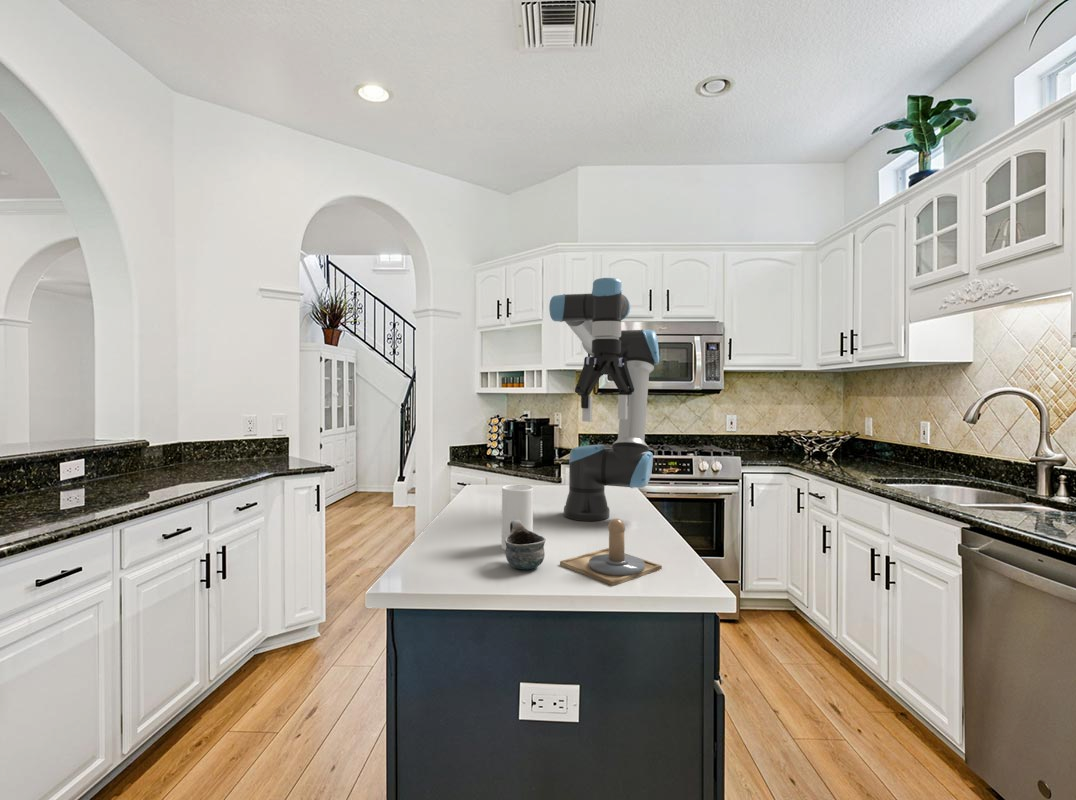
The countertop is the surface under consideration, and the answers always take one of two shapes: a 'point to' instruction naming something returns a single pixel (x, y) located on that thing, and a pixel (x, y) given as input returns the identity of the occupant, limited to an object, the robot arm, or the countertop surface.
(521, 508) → the cup
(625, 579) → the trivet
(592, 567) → the lid
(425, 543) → the countertop surface
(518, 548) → the mug
